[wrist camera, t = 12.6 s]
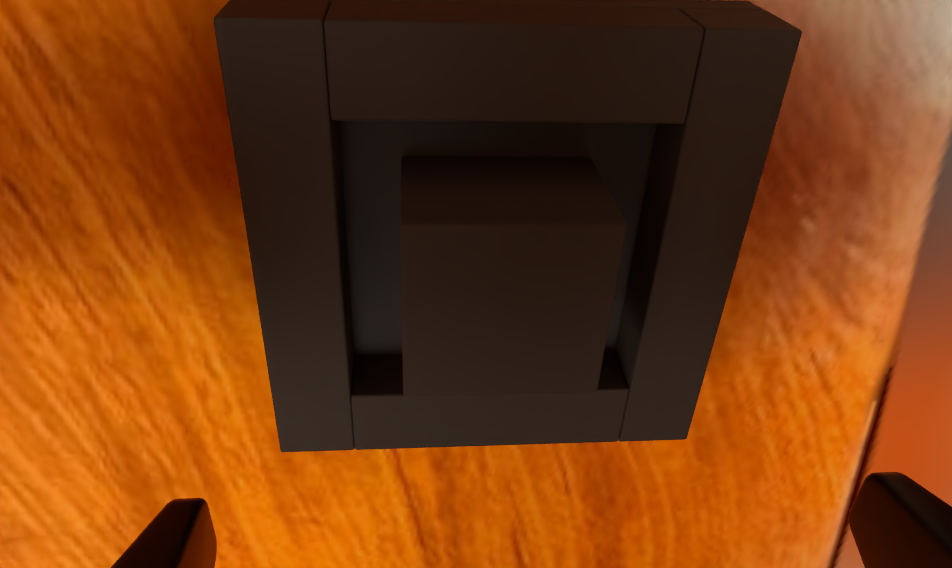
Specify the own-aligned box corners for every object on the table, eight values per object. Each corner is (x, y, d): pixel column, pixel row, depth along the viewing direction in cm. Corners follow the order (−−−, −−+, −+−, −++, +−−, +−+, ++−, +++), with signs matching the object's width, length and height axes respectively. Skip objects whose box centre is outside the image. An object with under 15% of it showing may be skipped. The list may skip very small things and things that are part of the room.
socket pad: (750, 0, 14) (803, 30, 12) (659, 379, 20) (687, 440, 18) (239, -13, 13) (211, 16, 12) (293, 388, 19) (280, 453, 17)
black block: (591, 155, 15) (628, 224, 13) (569, 310, 17) (597, 394, 15) (401, 154, 15) (399, 225, 12) (403, 312, 17) (403, 399, 14)
